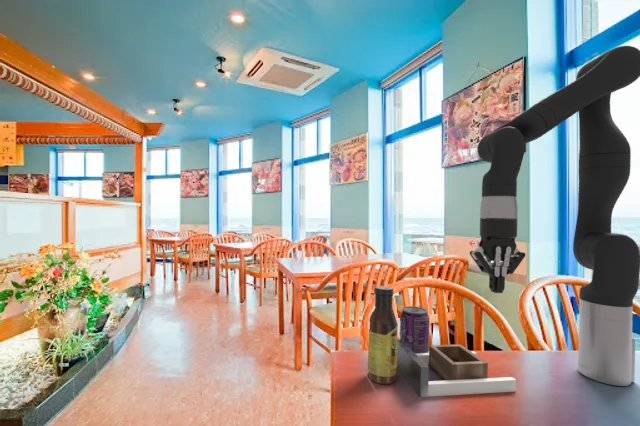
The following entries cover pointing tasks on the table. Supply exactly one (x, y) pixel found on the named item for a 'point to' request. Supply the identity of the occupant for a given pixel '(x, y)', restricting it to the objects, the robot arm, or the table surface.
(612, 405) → the table surface
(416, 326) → the beverage can
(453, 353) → the crate
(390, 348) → the sauce bottle
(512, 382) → the bay
